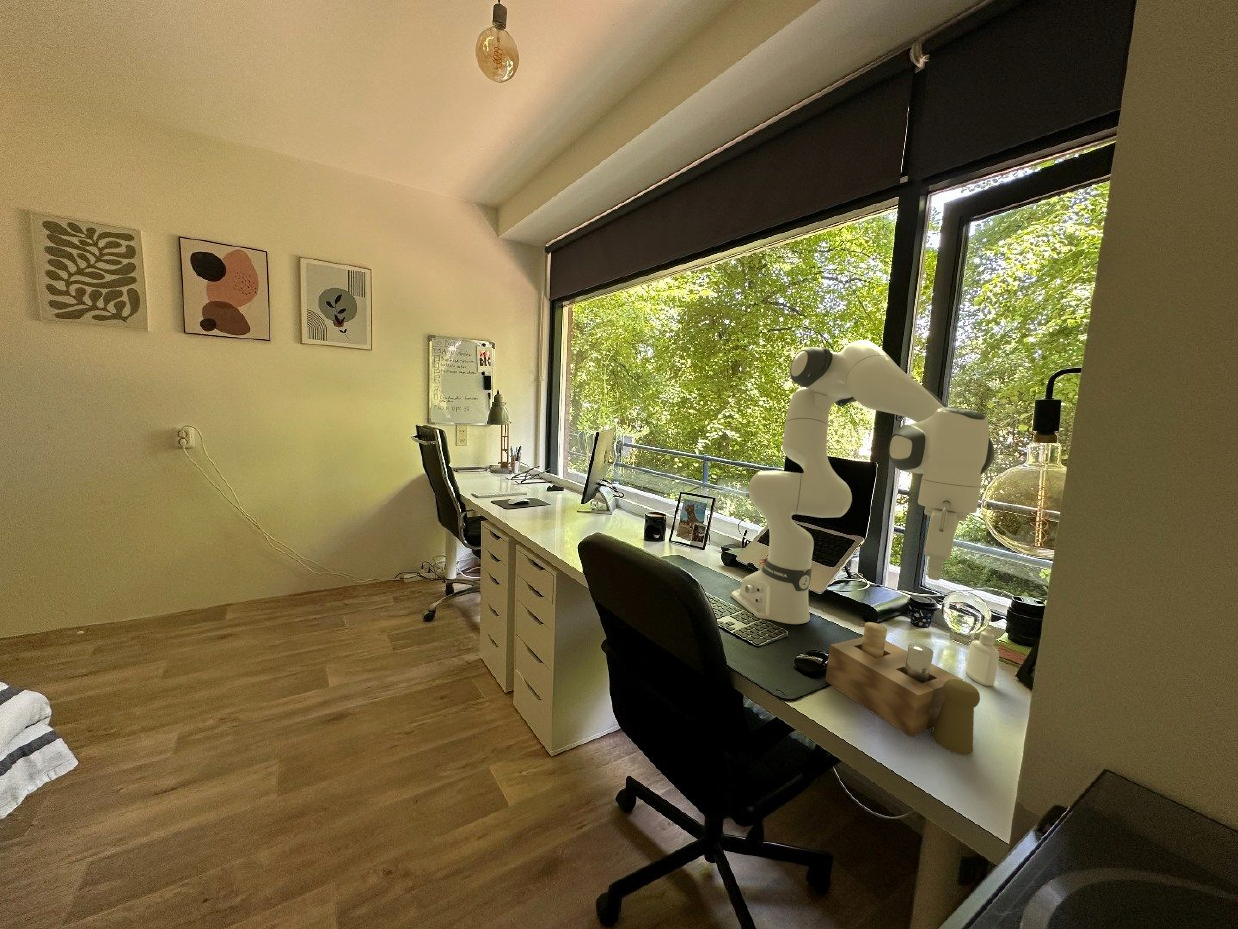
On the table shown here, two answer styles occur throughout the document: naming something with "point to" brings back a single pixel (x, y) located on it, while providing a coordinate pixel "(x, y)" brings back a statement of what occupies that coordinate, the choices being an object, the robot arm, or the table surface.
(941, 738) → the cork
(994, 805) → the table surface
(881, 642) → the beech peg
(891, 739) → the table surface
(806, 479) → the robot arm
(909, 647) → the grey metal peg
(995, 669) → the eye dropper bottle
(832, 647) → the socket block
